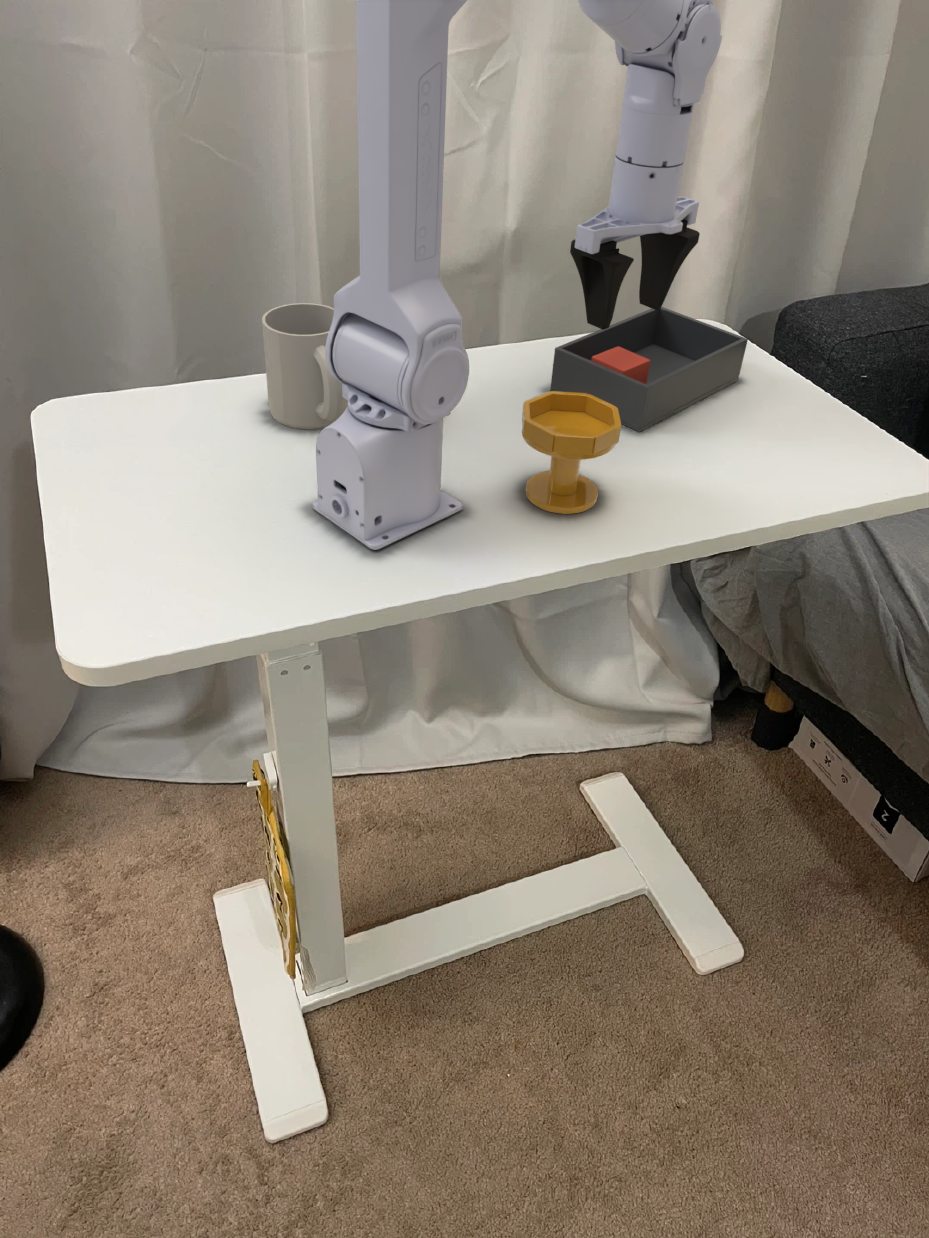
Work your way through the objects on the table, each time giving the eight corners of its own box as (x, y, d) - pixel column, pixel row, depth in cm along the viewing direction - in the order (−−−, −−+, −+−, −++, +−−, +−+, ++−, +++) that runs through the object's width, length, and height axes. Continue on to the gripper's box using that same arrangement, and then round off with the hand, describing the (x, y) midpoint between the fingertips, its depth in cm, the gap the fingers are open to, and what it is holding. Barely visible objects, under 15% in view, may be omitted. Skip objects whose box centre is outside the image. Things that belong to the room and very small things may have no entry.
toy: (617, 410, 95) (624, 371, 93) (586, 395, 97) (591, 356, 95) (643, 398, 97) (650, 360, 95) (612, 383, 99) (618, 345, 97)
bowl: (564, 530, 79) (576, 447, 75) (497, 490, 84) (504, 409, 79) (625, 498, 84) (639, 417, 79) (558, 462, 88) (567, 383, 83)
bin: (639, 432, 93) (647, 387, 90) (549, 391, 99) (554, 348, 96) (738, 380, 103) (748, 338, 100) (651, 345, 108) (658, 305, 106)
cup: (327, 388, 97) (324, 298, 91) (374, 434, 90) (374, 340, 84) (257, 403, 94) (249, 310, 88) (300, 451, 87) (294, 355, 81)
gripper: (632, 183, 77) (607, 349, 86) (738, 157, 86) (706, 311, 94) (564, 162, 81) (546, 323, 90) (672, 139, 89) (647, 288, 98)
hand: (624, 315), depth 92 cm, fingers open, 7 cm apart
